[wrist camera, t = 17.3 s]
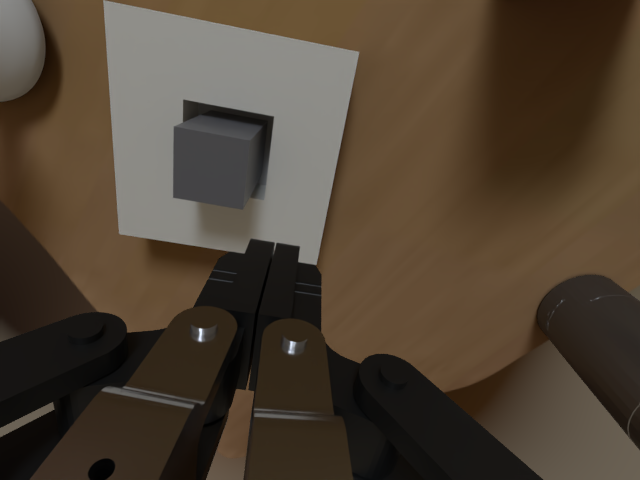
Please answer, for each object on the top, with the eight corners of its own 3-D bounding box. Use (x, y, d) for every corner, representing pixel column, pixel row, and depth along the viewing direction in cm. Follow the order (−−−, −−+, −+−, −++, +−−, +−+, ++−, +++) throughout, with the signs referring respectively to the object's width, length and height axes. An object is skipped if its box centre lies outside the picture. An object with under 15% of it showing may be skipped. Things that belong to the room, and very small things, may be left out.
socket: (353, 53, 31) (359, 52, 26) (317, 241, 39) (316, 265, 34) (136, 9, 30) (103, 0, 25) (143, 213, 37) (119, 233, 33)
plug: (268, 120, 32) (249, 140, 24) (261, 175, 35) (243, 209, 26) (211, 110, 32) (173, 126, 24) (208, 165, 34) (173, 197, 26)
